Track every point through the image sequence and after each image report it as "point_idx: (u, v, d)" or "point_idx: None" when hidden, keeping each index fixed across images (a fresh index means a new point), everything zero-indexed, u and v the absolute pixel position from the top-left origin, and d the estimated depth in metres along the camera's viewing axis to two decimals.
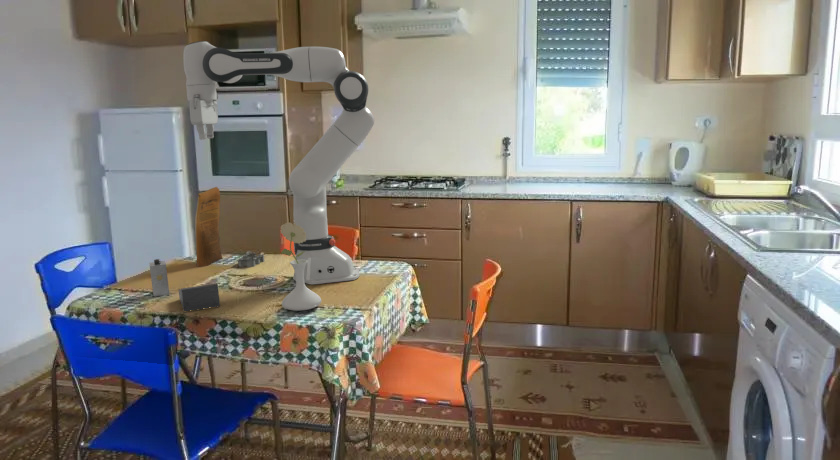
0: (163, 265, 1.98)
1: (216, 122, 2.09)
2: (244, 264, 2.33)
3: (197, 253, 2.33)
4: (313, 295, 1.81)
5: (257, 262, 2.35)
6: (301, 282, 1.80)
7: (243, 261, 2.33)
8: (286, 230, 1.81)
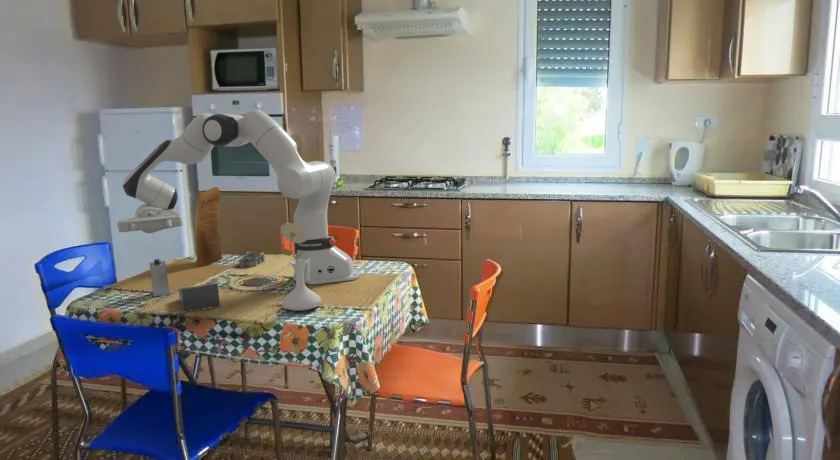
0: (163, 265, 1.98)
1: (175, 216, 2.16)
2: (246, 264, 2.33)
3: (197, 253, 2.33)
4: (313, 295, 1.81)
5: (258, 262, 2.35)
6: (301, 282, 1.80)
7: (245, 261, 2.33)
8: (286, 230, 1.81)
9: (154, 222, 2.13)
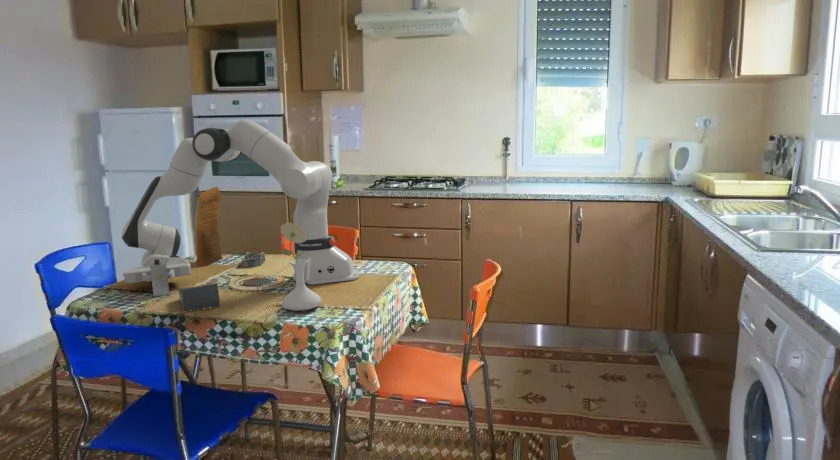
0: (163, 265, 1.98)
1: (183, 265, 2.07)
2: (250, 264, 2.33)
3: (197, 253, 2.33)
4: (313, 295, 1.81)
5: (261, 261, 2.36)
6: (301, 282, 1.80)
7: (249, 261, 2.32)
8: (286, 230, 1.81)
9: None
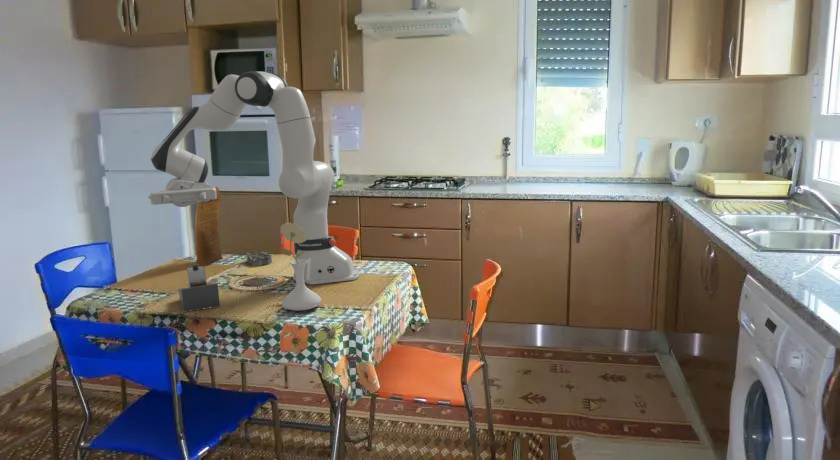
0: (202, 271, 1.86)
1: (209, 189, 2.06)
2: (262, 263, 2.34)
3: (197, 253, 2.33)
4: (313, 295, 1.81)
5: None
6: (301, 282, 1.80)
7: (261, 260, 2.34)
8: (286, 230, 1.81)
9: (188, 194, 2.04)
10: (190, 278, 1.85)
